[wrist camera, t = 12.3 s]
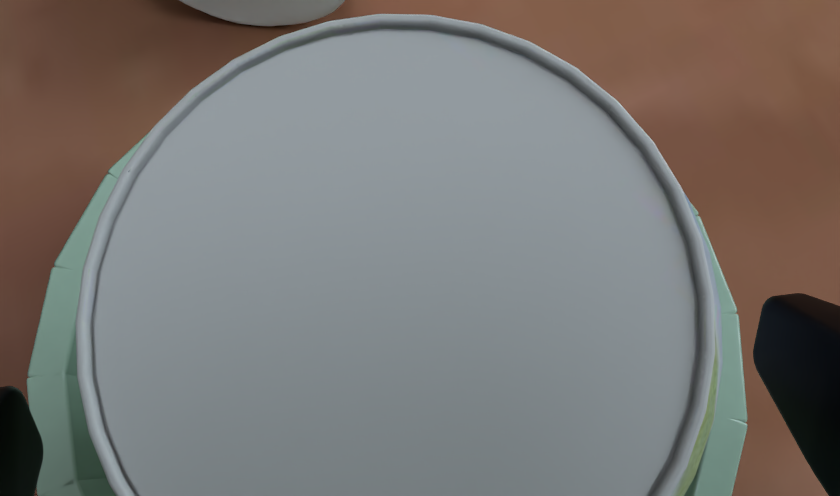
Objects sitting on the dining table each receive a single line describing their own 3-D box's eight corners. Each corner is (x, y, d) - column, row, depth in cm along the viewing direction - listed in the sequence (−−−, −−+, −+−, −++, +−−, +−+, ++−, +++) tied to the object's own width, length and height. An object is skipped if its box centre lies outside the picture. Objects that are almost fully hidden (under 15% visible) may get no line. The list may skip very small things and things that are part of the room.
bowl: (433, 821, 14) (452, 976, 10) (4, 408, 16) (-131, 391, 12) (753, 338, 18) (869, 300, 14) (365, 47, 20) (360, -66, 16)
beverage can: (590, 310, 17) (996, 19, 6) (456, 593, 15) (671, 1024, 4) (374, 196, 18) (351, -272, 6) (218, 452, 16) (-232, 444, 4)
